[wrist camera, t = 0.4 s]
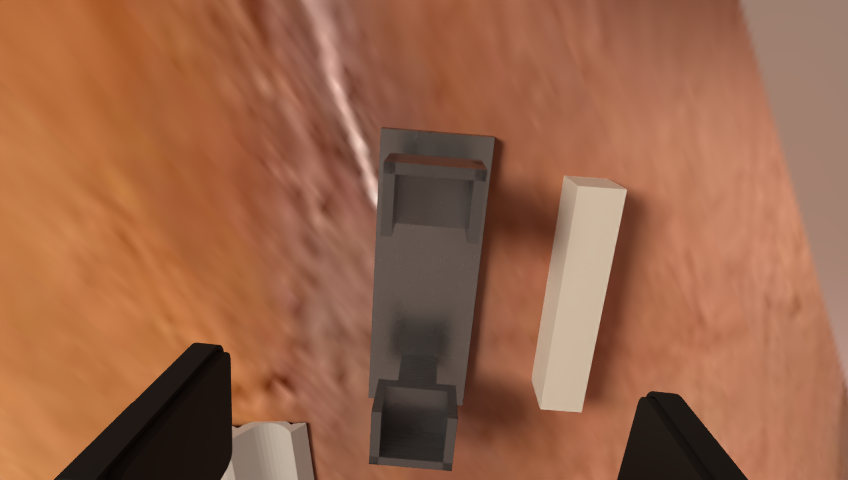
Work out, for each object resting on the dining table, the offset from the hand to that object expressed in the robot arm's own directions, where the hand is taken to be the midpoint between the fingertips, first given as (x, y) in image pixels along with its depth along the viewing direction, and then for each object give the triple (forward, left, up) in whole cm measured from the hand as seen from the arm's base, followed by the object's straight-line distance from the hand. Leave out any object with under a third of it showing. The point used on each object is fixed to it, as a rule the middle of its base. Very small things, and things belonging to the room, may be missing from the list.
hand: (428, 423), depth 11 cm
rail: (+11, +14, -35) cm, 39 cm away
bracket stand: (+11, 0, -34) cm, 36 cm away
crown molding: (+46, -16, -35) cm, 60 cm away
